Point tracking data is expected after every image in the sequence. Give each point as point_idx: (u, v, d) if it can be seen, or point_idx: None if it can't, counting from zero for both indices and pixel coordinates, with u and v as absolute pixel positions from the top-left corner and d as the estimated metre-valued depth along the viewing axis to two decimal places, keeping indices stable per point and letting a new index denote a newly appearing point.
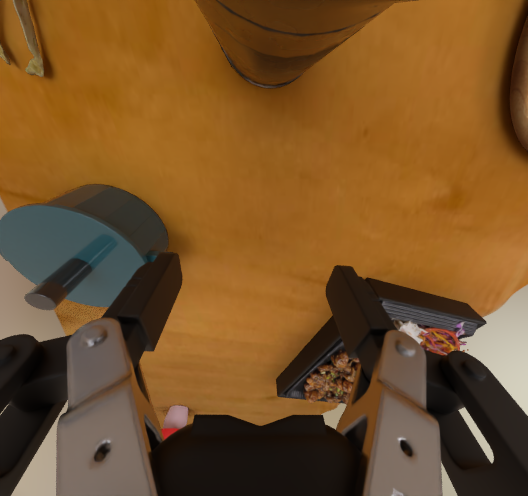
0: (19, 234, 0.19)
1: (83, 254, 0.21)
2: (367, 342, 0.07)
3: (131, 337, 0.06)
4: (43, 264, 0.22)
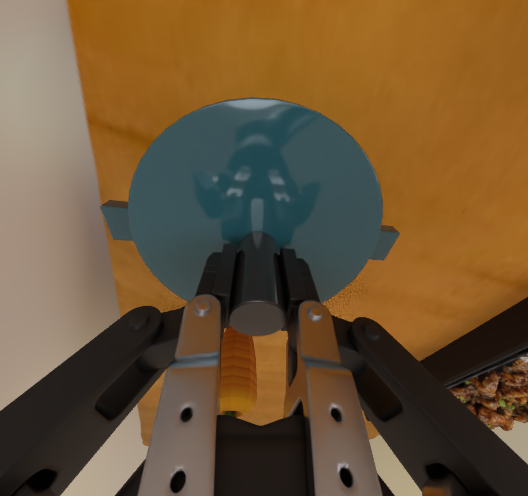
0: (180, 176, 0.09)
1: (279, 223, 0.11)
2: (290, 313, 0.08)
3: (223, 312, 0.07)
4: (193, 244, 0.12)
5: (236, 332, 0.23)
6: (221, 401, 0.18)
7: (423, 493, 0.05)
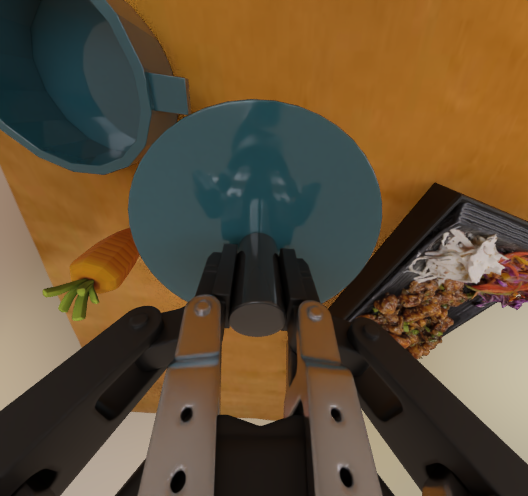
0: (180, 178, 0.09)
1: (279, 224, 0.11)
2: (290, 313, 0.08)
3: (223, 312, 0.07)
4: (193, 244, 0.12)
5: (120, 232, 0.25)
6: (75, 267, 0.20)
7: (423, 493, 0.05)
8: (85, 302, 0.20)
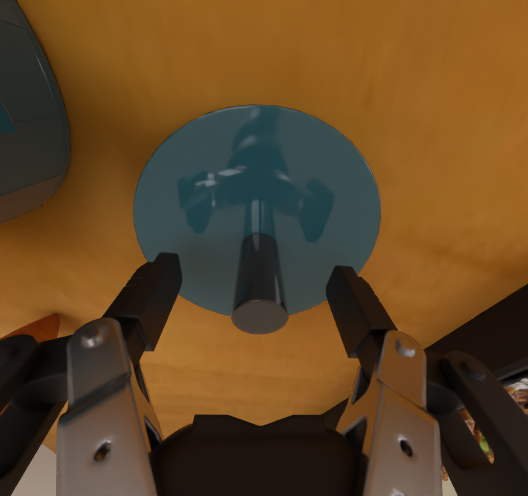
0: (184, 180, 0.10)
1: (280, 225, 0.11)
2: (367, 342, 0.07)
3: (131, 337, 0.06)
4: (196, 245, 0.12)
5: None
6: None
7: None
8: None
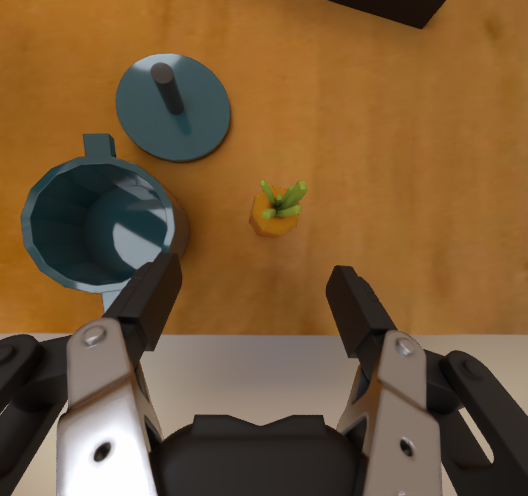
0: (148, 137, 0.26)
1: (160, 98, 0.26)
2: (367, 342, 0.07)
3: (131, 337, 0.06)
4: (179, 134, 0.26)
5: None
6: (260, 221, 0.18)
7: None
8: None
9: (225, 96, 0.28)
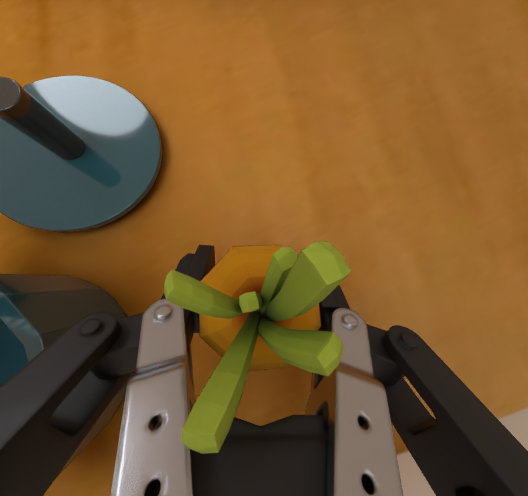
0: (33, 205, 0.16)
1: None
2: (321, 320, 0.08)
3: (189, 317, 0.07)
4: (83, 186, 0.16)
5: None
6: (224, 353, 0.07)
7: None
8: None
9: (146, 113, 0.18)
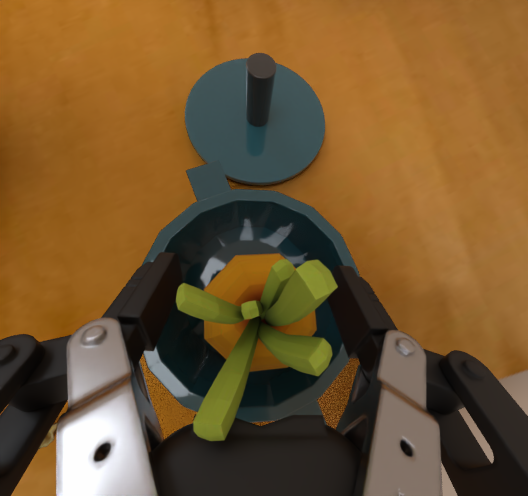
0: (237, 162, 0.19)
1: (237, 112, 0.20)
2: (367, 342, 0.07)
3: (131, 337, 0.06)
4: (272, 148, 0.20)
5: None
6: (227, 355, 0.07)
7: None
8: None
9: (310, 90, 0.22)
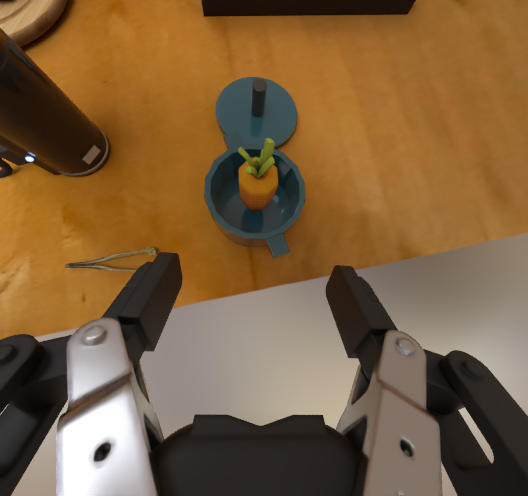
0: (245, 137, 0.34)
1: (245, 109, 0.35)
2: (367, 342, 0.07)
3: (131, 337, 0.06)
4: (265, 129, 0.35)
5: (243, 203, 0.28)
6: (247, 186, 0.22)
7: None
8: None
9: (288, 95, 0.36)
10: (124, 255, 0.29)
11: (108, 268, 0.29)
